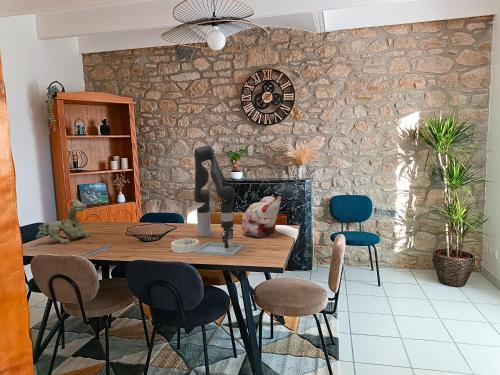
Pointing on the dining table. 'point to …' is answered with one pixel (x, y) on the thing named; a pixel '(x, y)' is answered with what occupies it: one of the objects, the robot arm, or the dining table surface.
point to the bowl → (184, 246)
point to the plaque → (96, 251)
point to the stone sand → (229, 243)
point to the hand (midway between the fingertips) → (228, 247)
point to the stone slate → (188, 242)
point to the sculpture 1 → (65, 226)
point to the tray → (218, 249)
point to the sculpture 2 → (261, 217)
